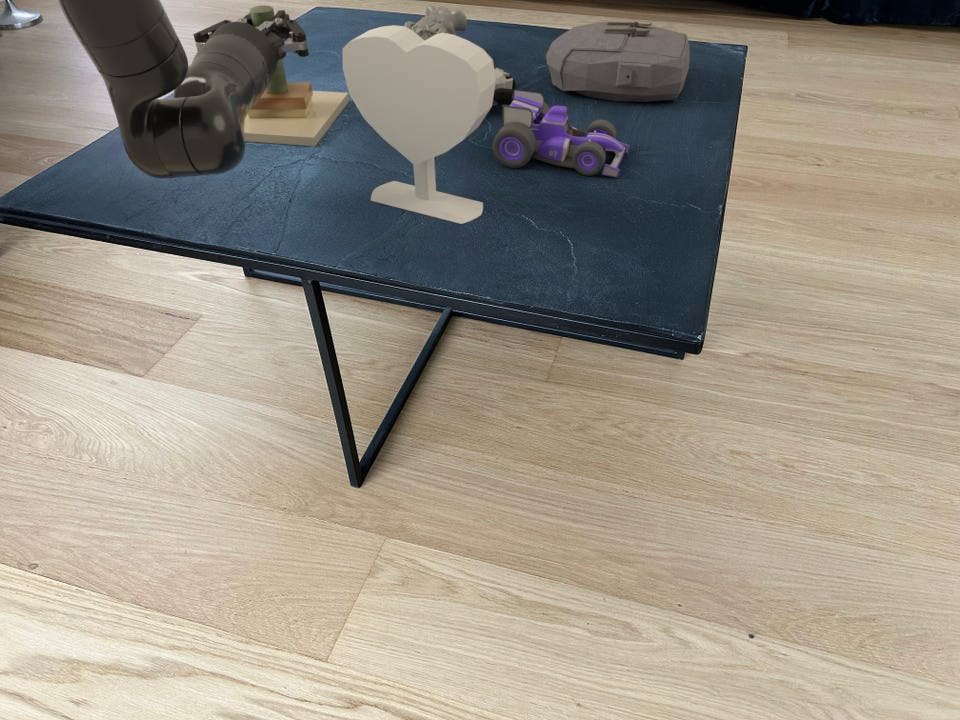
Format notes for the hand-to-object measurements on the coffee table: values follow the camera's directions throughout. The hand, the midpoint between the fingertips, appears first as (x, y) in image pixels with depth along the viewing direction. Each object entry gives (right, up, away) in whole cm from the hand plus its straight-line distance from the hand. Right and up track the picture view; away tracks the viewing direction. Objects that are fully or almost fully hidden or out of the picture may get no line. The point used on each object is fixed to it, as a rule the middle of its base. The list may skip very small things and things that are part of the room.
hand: (269, 18), depth 95 cm
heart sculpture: (+21, -25, -11) cm, 34 cm away
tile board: (-3, -10, +6) cm, 13 cm away
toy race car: (+37, -18, -3) cm, 41 cm away
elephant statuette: (+20, +2, +21) cm, 29 cm away
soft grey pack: (+46, -4, +13) cm, 48 cm away
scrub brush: (0, -10, +5) cm, 11 cm away
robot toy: (+24, -8, +9) cm, 27 cm away
